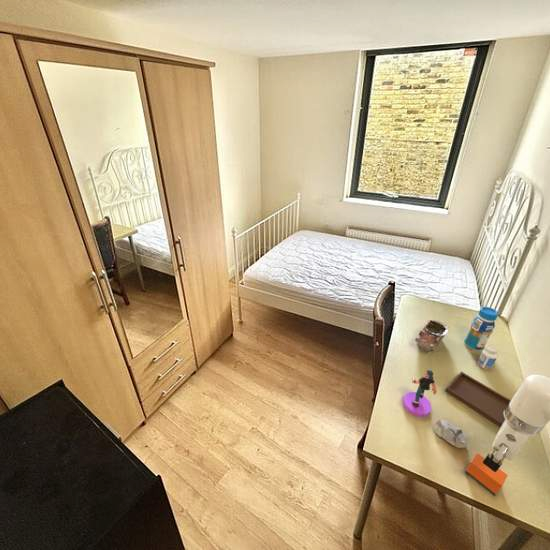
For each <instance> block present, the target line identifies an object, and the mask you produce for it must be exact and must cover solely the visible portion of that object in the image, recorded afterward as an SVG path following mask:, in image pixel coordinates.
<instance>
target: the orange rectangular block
mask: <svg viewBox="0 0 550 550" xmlns="http://www.w3.org/2000/svg"><path fill="white" fill-rule="evenodd" d="M485 458H486V457H484V456H482V455H481V454H480V453H478V452H476V453H475V454H474V457H473V458H472V460H471V461H470V463H469V465H468V466H467V468H466V469H465V471H464V474H466V475H467V476H469V477H470V478H471V479H472V480H474V481H475V482H476V483H478V484H479V485H480V486H481V487H482V488H484V490H486V491H487V492H488V493H490V494H491V495H493V496H494V497H495V496H496V495H497V494H498V493H499V491H500V490H501V488H502V487H503V486H504V484H505V482H506V479H507V478H508V474H507V473H506V472H505V471H503V470H501V469H500V468H499V469H498V470H497V471H496V472H494V471H492V470H491V469H490V468H489V467H487V466H486V465H485V464H483V461H484V459H485Z"/></svg>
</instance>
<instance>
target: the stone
mask: <svg viewBox="0 0 550 550" xmlns="http://www.w3.org/2000/svg"><path fill="white" fill-rule="evenodd" d="M433 430H434V432H435V434H437V436H438V437H439V438H442V439H444V440H445V441H446V442H447V443H449V444H450V445H452V446H454V447H455V448H457V449H465V448H466V447H467V446H466V445H467V442H468V438H467V435H466V434H465V433H464V432H463V429H460V428H459V427H457V426H455V425H453V424H451V422H448V421H446V420H445V419H438V420H437V422H436V423H435V426H434V427H433Z"/></svg>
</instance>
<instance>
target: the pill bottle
mask: <svg viewBox="0 0 550 550" xmlns="http://www.w3.org/2000/svg"><path fill="white" fill-rule="evenodd" d="M498 352H499V349H498V348H497V347H496V346H494V345H491V344H488V345H486V346H485V348H484V349H483V350H481V353H480V355H479V357H478V359H477V362H476V363H477V365H478V367H480V368H481V369H483V370H487V371H488V370H491V369H492V368H493V367H494V365H495V363H496V361H497V359H498Z"/></svg>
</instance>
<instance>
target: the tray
mask: <svg viewBox="0 0 550 550" xmlns="http://www.w3.org/2000/svg"><path fill="white" fill-rule="evenodd" d="M444 392H445V393H447V394H448V395H450V396H451V397H453V398H454V399H456V400H458V401H459V402H460V403H462V404H463V405H465V406H467V407H468V408H470V409H471V410H473V411H475V412H476V413H477V414H479V415H480V416H481V417H483V418H485V419H486V420H488V421H490V422H491V423H493V424H494V425H496V426H497V427H499V429H500V428H501V426H502V425H503V423H504V421H505V420H506V419H505V417H504V410H505V409H506V407H507V406H508V404H509V403H510V401H511V400H512V399H509V398H507V397H506V396H504V395H503V394H501V393H499V392H497V391H496V390H494V389H492V388H491V387H488V386H487V385H485V384H484V383H482V382H480V381H479V380H477V379H475V378H474V377H472V376H470V375H469V374H466V373H465V372H463V371H460V372H459V373H458V374H457V376H456V377H455V378H454V379H453V380H452V381H451V382H450V383H449V384H448V385H447V386H446V388H445V390H444Z"/></svg>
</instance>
